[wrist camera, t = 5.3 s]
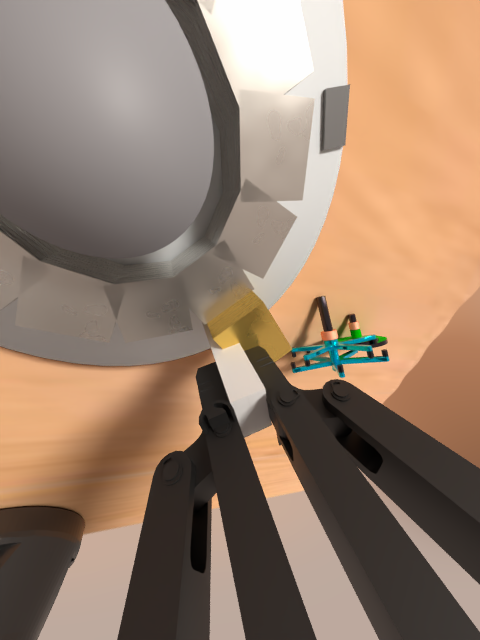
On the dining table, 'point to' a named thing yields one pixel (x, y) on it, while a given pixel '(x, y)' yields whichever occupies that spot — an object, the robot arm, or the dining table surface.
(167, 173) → the white shallow round piece
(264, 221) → the grey segmented ring
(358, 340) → the stick construction toy
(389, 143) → the dining table surface
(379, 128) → the dining table surface
